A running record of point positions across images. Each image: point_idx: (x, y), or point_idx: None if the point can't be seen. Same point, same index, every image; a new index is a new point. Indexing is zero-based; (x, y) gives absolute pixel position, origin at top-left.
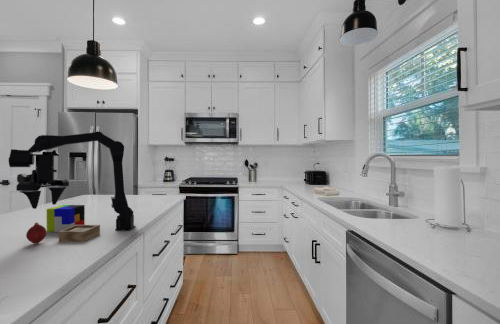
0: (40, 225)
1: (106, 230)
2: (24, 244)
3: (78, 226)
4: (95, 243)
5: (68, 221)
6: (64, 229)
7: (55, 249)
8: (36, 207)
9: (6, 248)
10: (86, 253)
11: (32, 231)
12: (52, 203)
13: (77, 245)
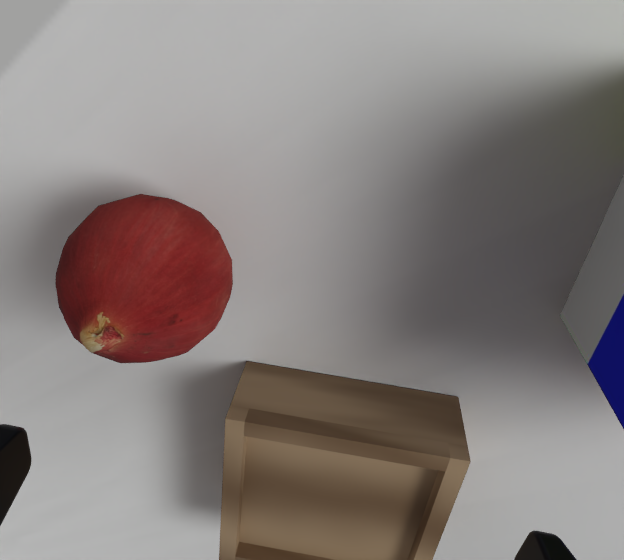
0: (126, 356)
1: (510, 545)
2: (165, 138)
3: (439, 473)
4: (199, 549)
5: (603, 382)
6: (294, 433)
7: (80, 412)
8: (10, 489)
9: (47, 49)
10: (49, 549)
11: (59, 302)
12: (536, 550)
13: (161, 487)
